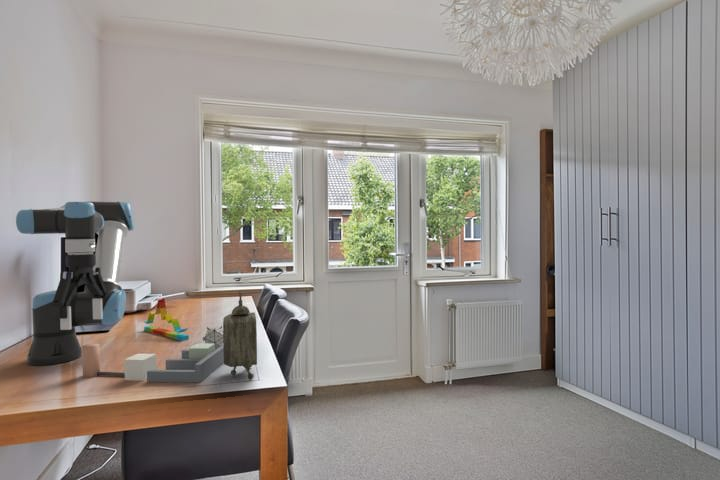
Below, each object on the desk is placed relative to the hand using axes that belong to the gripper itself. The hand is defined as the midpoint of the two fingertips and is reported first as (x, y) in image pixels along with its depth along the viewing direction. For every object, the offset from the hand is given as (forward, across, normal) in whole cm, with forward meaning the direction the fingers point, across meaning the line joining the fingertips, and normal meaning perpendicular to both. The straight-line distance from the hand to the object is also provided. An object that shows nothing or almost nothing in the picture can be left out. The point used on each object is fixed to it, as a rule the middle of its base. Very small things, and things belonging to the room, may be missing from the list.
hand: (82, 324), depth 128 cm
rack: (+15, +5, -30) cm, 34 cm away
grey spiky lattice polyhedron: (+16, +28, -29) cm, 43 cm away
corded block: (+15, -2, -11) cm, 19 cm away
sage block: (+15, +10, -32) cm, 37 cm away
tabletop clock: (+15, 0, -48) cm, 50 cm away
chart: (+16, +49, 0) cm, 52 cm away
